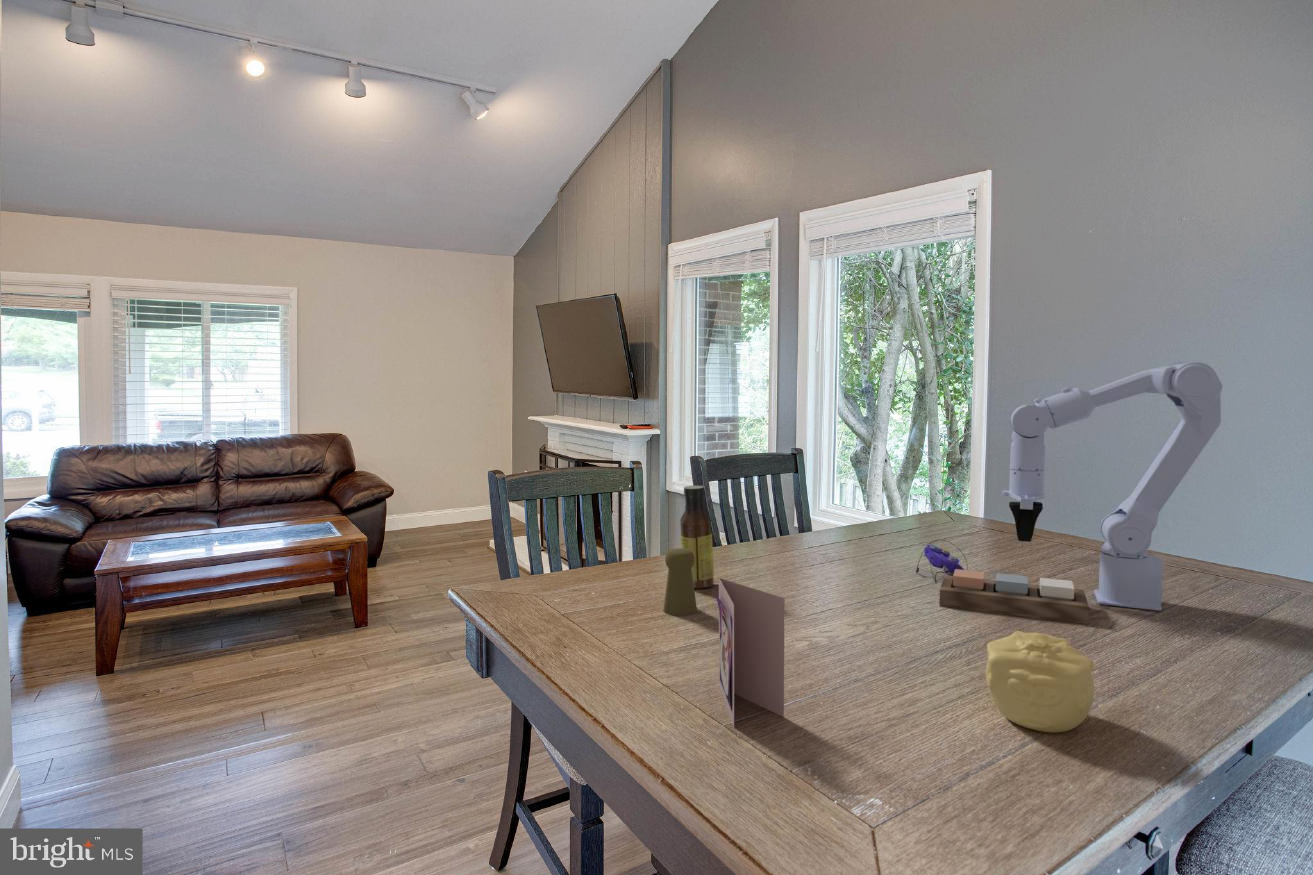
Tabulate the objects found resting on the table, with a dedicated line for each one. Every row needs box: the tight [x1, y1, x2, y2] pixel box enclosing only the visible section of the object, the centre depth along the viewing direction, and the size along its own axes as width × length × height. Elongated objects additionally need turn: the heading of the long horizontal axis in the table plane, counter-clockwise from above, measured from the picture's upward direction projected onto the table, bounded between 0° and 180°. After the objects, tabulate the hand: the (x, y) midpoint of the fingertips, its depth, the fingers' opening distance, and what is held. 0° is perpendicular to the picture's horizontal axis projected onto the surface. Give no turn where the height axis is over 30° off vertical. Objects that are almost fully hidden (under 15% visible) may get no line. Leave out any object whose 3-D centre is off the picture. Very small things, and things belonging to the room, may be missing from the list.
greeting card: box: [713, 577, 786, 728], centre depth 92 cm, size 11×7×15 cm, turn 4°
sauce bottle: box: [679, 484, 715, 590], centre depth 143 cm, size 7×6×20 cm
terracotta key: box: [952, 569, 985, 591], centre depth 132 cm, size 5×5×3 cm
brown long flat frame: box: [938, 574, 1090, 625], centre depth 129 cm, size 23×10×3 cm, turn 64°
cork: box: [663, 547, 698, 617], centre depth 129 cm, size 6×6×11 cm
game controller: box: [915, 539, 969, 584], centre depth 149 cm, size 10×8×10 cm
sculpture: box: [985, 630, 1095, 734], centre depth 87 cm, size 12×12×11 cm
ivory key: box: [1039, 577, 1075, 601], centre depth 126 cm, size 5×5×3 cm
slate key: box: [995, 572, 1029, 596], centre depth 129 cm, size 5×5×3 cm
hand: (1024, 540), depth 136 cm, fingers closed
